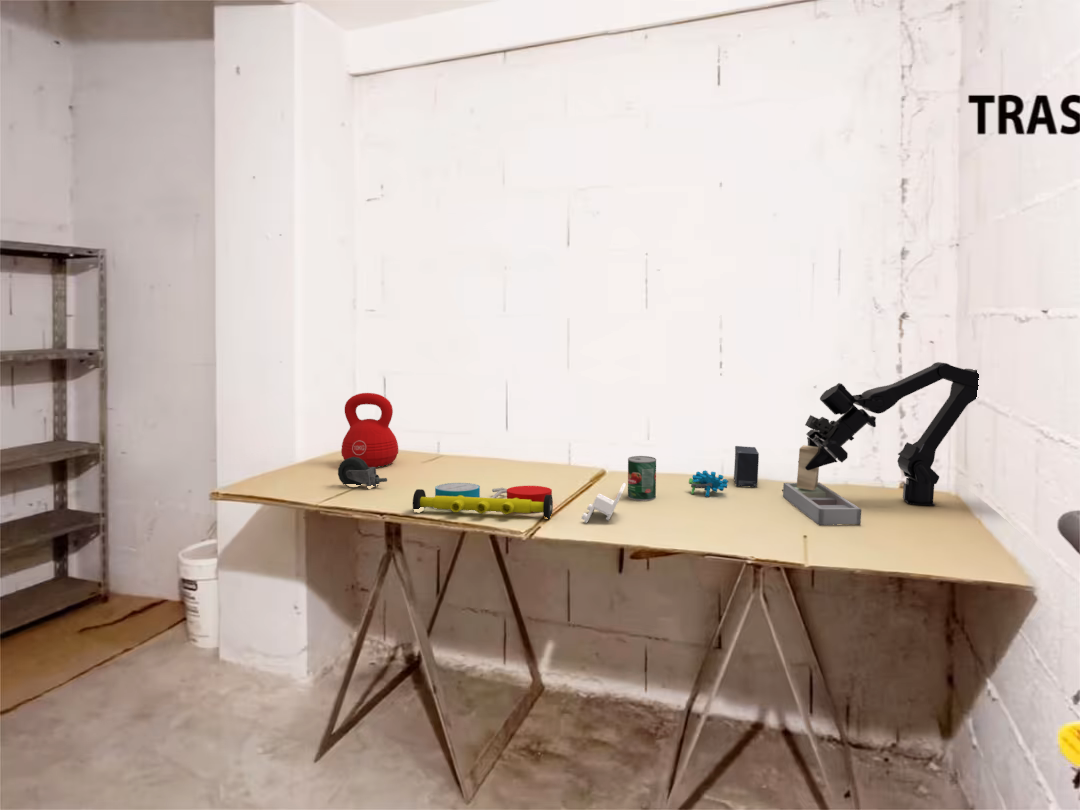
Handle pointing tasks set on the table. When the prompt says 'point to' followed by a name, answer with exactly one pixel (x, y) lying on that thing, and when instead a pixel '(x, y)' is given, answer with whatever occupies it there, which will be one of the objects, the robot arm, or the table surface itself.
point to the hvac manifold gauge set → (487, 499)
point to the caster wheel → (358, 472)
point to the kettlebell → (370, 432)
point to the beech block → (806, 477)
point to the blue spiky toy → (708, 482)
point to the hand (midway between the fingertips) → (802, 466)
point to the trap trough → (822, 505)
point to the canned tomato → (642, 478)
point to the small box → (746, 466)
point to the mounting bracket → (603, 505)
